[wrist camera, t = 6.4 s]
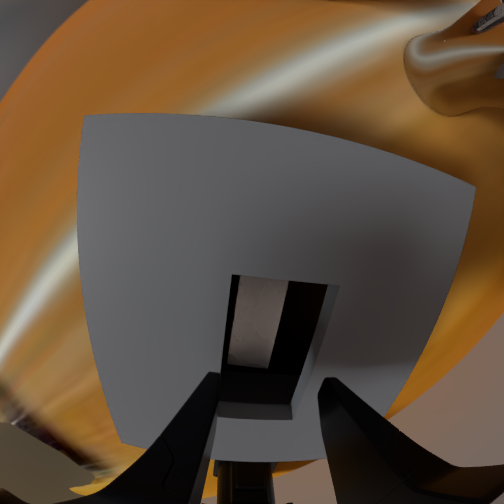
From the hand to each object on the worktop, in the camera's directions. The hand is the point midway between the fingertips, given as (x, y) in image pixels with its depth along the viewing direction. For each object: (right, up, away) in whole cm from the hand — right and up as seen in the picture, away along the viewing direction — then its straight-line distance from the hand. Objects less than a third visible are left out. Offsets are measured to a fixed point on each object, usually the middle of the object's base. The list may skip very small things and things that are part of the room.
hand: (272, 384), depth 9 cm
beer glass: (+12, +16, +4) cm, 21 cm away
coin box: (0, +3, +8) cm, 8 cm away
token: (-1, +3, +8) cm, 9 cm away
